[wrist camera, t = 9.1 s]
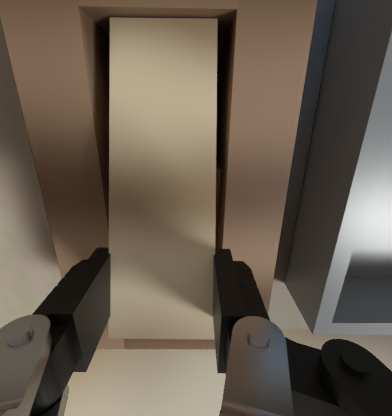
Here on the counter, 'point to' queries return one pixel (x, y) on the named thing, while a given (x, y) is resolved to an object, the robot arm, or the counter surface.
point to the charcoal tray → (349, 182)
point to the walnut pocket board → (99, 120)
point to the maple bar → (162, 177)
